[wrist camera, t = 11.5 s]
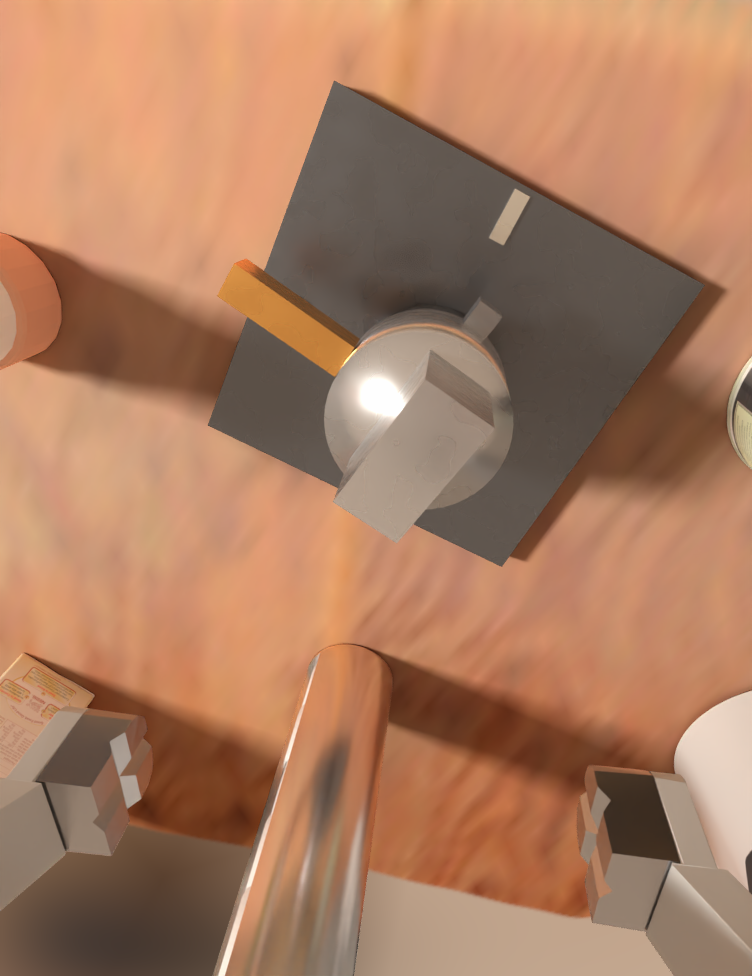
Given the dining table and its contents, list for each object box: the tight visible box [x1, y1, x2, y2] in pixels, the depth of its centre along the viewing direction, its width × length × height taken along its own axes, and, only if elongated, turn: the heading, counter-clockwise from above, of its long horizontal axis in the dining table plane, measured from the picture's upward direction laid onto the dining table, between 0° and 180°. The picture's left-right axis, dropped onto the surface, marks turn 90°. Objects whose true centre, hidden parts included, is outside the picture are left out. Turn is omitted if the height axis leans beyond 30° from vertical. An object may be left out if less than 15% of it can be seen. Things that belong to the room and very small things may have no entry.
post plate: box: [208, 81, 705, 567], centre depth 33 cm, size 20×19×5 cm
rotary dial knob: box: [217, 259, 513, 543], centre depth 26 cm, size 14×10×9 cm
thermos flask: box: [213, 644, 393, 976], centre depth 35 cm, size 6×6×25 cm
